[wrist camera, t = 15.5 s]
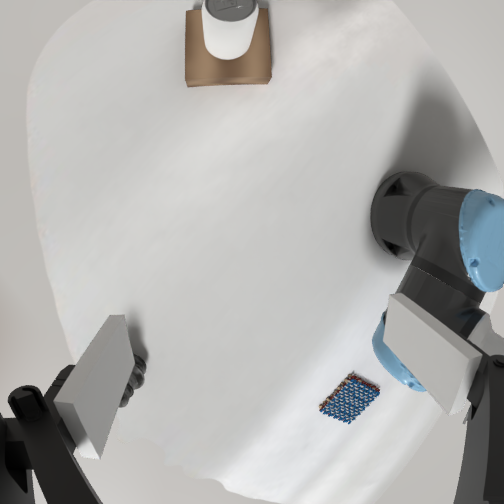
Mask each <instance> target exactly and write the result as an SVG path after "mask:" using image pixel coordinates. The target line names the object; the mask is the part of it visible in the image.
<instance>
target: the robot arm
mask: <svg viewBox="0 0 504 504" xmlns="http://www.w3.org/2000/svg"><path fill="white" fill-rule="evenodd" d="M371 226H372V231H373V234H374V236H375V239H376V240H377V242H378V244H379V245H380V246H381V247H382V248H383V249H384V250H385V251H386V252H387V253H389V254H391V255H393V256H395V257H397V258H400V259H404V260H412V262H411V264H410V265H409V268H408V270H407V272H406V274H405V276H404V278H403V280H402V281H401V283H400V285H399V287H398V289H397V291H396V293H395V294H390V295H389V301H388V307H387V309H386V311H385V312H383V314H382V317H381V321H380V323H379V325H378V327H377V329H376V331H375V333H374V335H373V338H372V344H373V349H374V352H375V354H376V356H377V358H378V360H379V361H380V363H381V364H382V365H383V366H384V368H385V369H386V370H387V371H388V372H389V373H390V374H391V375H392V376H393V377H395V378H396V379H397V380H398V381H400V382H401V383H402V384H404V385H406V384H407V385H408V386H409V387H410V388H411V389H413V390H416V391H420V392H424V391H428V393H429V394H430V395H431V396H432V397H433V398H434V399H435V401H436V402H437V403H438V404H439V405H440V406H441V408H442V409H443V410H444V411H445V412H446V413H447V415H452V414H454V413H457V412H459V411H461V410H462V409H463V407H464V404H465V402H466V399H468V400H469V401H470V402H471V406H470V408H469V410H468V412H467V415H466V417H465V419H464V422H463V424H465V423H466V421H467V420H468V422H467V432H466V440H465V447H464V454H463V460H462V466H461V472H460V477H459V482H458V486H457V491H456V496H455V500H454V504H504V338H502V337H501V336H500V335H498V334H497V333H495V332H494V331H493V329H492V326H491V320H490V316H489V314H488V313H486V312H484V311H483V310H481V309H480V308H479V305H480V304H481V301H482V299H483V297H484V295H485V293H486V292H494V291H497V290H499V289H501V288H502V287H503V284H504V199H503V198H501V197H499V196H497V195H494V194H490V193H486V192H485V191H482V190H478V189H474V190H472V189H464V188H456V187H448V186H440V185H439V184H438V183H436V182H435V181H433V180H432V179H431V178H429V177H428V176H426V175H424V174H421V173H417V172H400V173H397V174H395V175H393V176H391V177H389V178H388V179H387V180H386V181H385V182H384V183H383V184H382V185H381V186H380V188H379V189H378V191H377V193H376V195H375V197H374V200H373V203H372V208H371ZM418 268H419V269H418ZM420 269H421V270H420ZM422 270H423V271H422ZM427 273H428V274H427ZM429 274H430V275H429ZM431 275H432V276H431ZM436 278H437V279H436ZM438 279H439V280H438ZM440 280H441V281H440ZM445 283H446V284H445ZM447 284H448V285H447ZM452 287H453V288H452ZM459 291H460V292H459ZM478 302H479V303H478ZM134 365H135V361H134V357H133V352H132V348H131V344H130V340H129V335H128V331H127V326H126V321H125V316H124V315H109V317H108V318H107V320H106V321H105V323H104V324H103V326H102V327H101V328H100V330H99V331H98V333H97V334H96V336H95V337H94V339H93V340H92V342H91V343H90V345H89V346H88V347H87V349H86V350H85V352H84V353H83V355H82V357H81V358H80V360H79V361H78V363H77V364H76V365H68V366H67V367H66V368H64V369H63V370H61V371H60V373H59V374H58V376H57V377H56V380H54V382H53V383H52V386H50V388H49V389H48V391H47V392H46V394H45V395H44V397H43V396H42V393H41V391H40V390H39V389H38V388H37V387H35V386H32V385H26V386H21V387H19V388H17V389H15V390H14V391H13V392H11V393H10V395H9V397H8V403H9V405H10V407H11V409H12V411H13V413H14V415H15V417H16V418H3V417H2V415H1V413H0V504H35V499H34V490H33V480H32V470H34V472H35V475H36V478H37V480H38V483H39V485H40V487H41V490H42V492H43V494H44V497H45V499H46V501H47V503H48V504H103V503H102V502H101V500H100V499H99V497H98V496H97V494H96V492H95V491H94V489H93V488H92V486H91V484H90V483H89V481H88V479H87V478H86V476H85V474H84V473H83V471H82V469H81V468H80V466H79V464H78V462H77V461H76V459H75V457H74V455H73V453H74V450H75V448H76V447H77V449H78V451H79V453H80V454H81V456H82V457H87V458H94V459H101V455H102V453H103V450H104V446H105V444H106V441H107V438H108V435H109V432H110V429H111V426H112V423H113V420H114V418H115V415H116V412H117V409H118V407H119V404H120V401H121V399H122V396H123V393H124V391H125V388H126V385H127V383H128V380H129V377H130V375H131V372H132V370H133V367H134Z"/></svg>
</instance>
